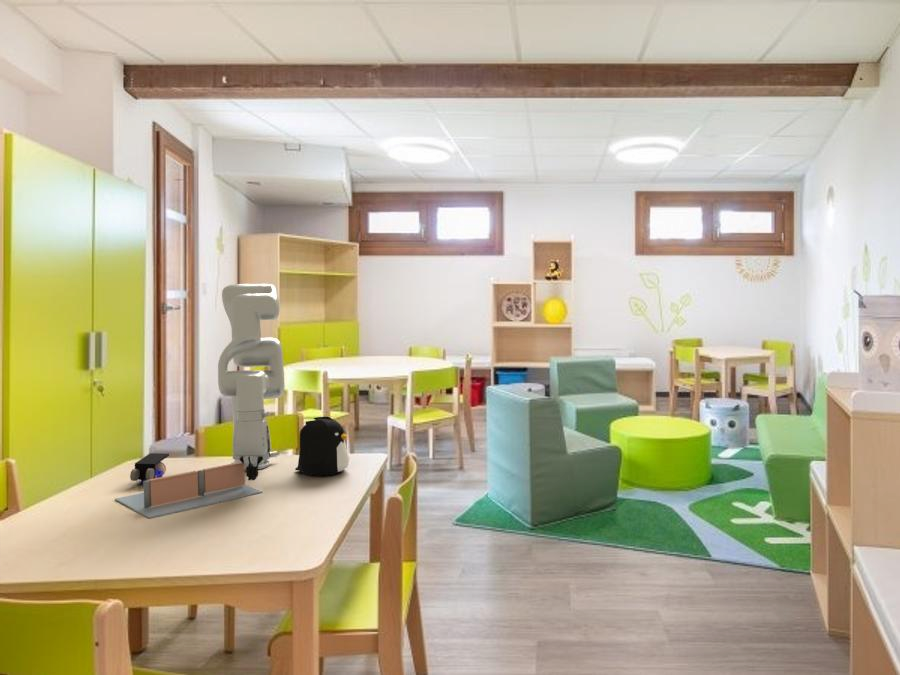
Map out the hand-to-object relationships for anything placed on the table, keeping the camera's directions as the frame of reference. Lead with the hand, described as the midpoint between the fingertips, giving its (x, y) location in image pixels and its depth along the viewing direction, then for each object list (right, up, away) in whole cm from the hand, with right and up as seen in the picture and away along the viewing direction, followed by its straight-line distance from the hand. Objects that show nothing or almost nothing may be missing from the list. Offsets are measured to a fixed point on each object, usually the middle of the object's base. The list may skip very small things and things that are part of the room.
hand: (252, 479), depth 205 cm
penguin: (+16, -2, +20) cm, 26 cm away
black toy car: (-34, -3, +12) cm, 37 cm away
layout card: (-16, -4, -5) cm, 17 cm away
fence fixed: (-18, -4, -11) cm, 22 cm away
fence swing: (-8, -3, -1) cm, 8 cm away
